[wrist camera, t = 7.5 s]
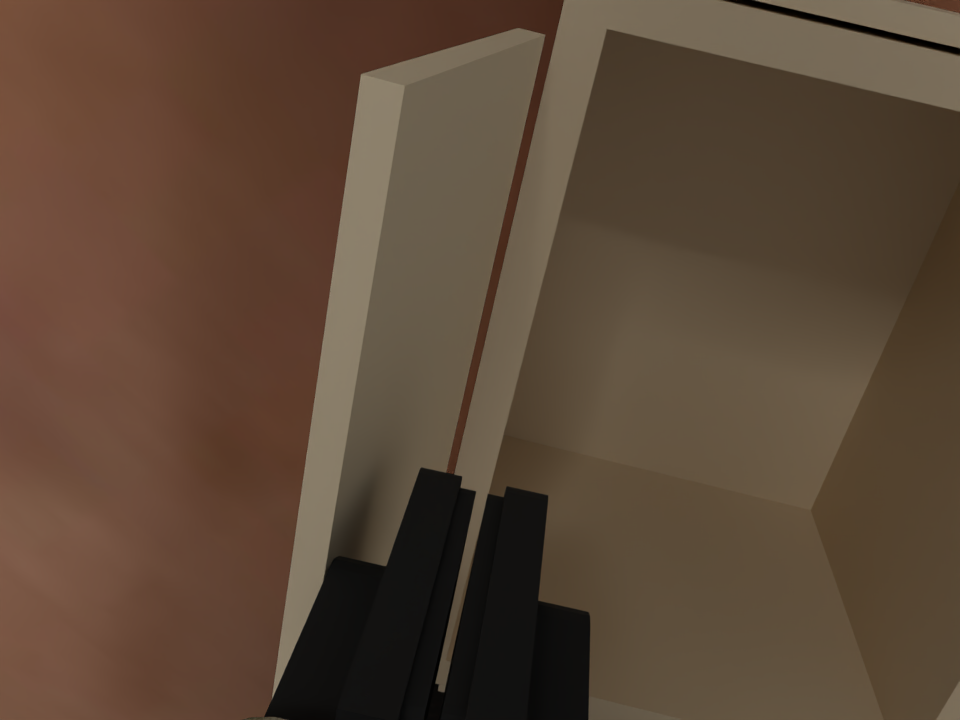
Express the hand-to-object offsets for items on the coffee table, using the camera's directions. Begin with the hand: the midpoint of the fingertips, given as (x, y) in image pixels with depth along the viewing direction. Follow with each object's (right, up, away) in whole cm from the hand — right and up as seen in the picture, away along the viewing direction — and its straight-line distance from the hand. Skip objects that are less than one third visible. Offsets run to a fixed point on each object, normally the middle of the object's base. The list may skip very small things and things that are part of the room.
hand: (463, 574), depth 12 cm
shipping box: (+7, +5, +13) cm, 16 cm away
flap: (-1, +1, +1) cm, 2 cm away
